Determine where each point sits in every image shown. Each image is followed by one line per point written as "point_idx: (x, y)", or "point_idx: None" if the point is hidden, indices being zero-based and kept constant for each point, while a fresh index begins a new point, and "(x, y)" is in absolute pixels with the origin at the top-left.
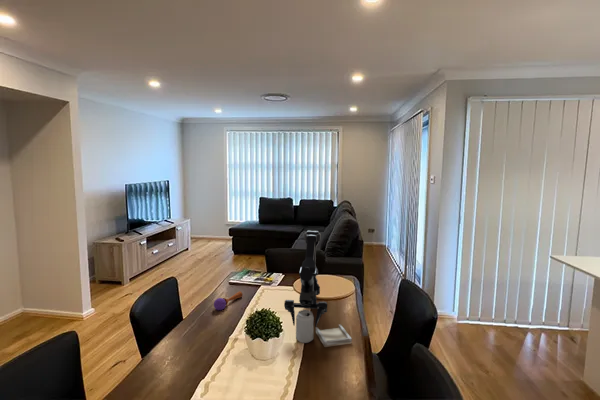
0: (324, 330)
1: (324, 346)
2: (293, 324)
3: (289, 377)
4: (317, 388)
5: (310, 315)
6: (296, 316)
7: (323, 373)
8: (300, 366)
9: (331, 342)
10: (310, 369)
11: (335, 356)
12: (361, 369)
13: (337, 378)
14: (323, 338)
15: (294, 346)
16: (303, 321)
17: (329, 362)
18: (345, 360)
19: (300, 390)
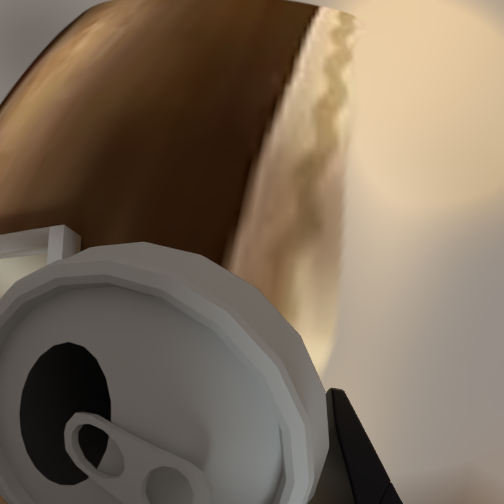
0: None
1: (80, 240)
2: (342, 391)
3: (338, 52)
4: (235, 6)
5: (3, 300)
6: (323, 461)
7: (183, 48)
8: (283, 90)
9: (28, 233)
10: (235, 68)
11: (68, 144)
12: (35, 75)
13: (141, 31)
14: None
15: (298, 282)
16: (201, 257)
17: (120, 102)
18: (47, 117)
19: (296, 9)
